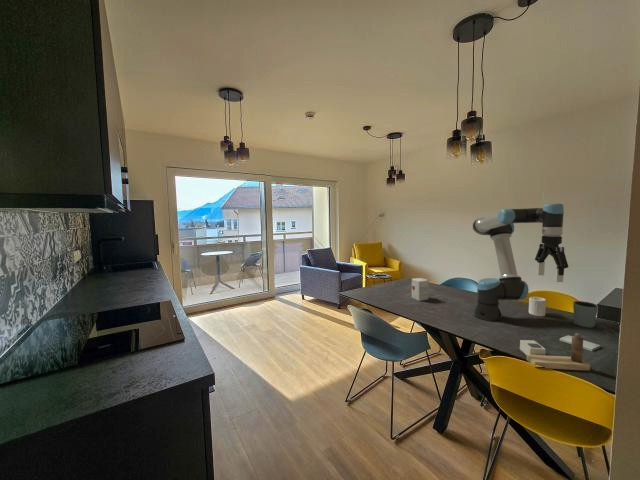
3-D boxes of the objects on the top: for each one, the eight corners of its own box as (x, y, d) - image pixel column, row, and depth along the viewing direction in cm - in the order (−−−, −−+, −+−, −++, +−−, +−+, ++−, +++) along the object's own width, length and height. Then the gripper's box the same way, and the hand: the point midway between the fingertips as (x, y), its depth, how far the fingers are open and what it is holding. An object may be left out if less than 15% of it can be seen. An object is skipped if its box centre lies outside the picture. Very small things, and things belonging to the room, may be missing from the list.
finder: (519, 349, 128) (520, 339, 128) (533, 349, 127) (534, 339, 127) (529, 357, 120) (530, 347, 120) (545, 358, 119) (545, 348, 119)
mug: (551, 313, 170) (552, 298, 169) (540, 317, 165) (541, 301, 164) (537, 309, 177) (537, 295, 176) (525, 312, 172) (526, 297, 171)
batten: (526, 359, 119) (526, 354, 119) (578, 362, 116) (578, 357, 116) (534, 367, 113) (535, 361, 113) (589, 370, 110) (590, 364, 110)
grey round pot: (578, 319, 159) (579, 300, 158) (601, 326, 150) (602, 305, 149) (567, 322, 156) (569, 302, 155) (590, 329, 146) (592, 308, 145)
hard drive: (601, 345, 128) (568, 334, 139) (592, 349, 125) (559, 338, 136) (600, 348, 128) (568, 337, 139) (591, 352, 125) (559, 341, 136)
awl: (568, 358, 115) (570, 332, 114) (577, 358, 115) (579, 332, 113) (574, 362, 112) (576, 335, 111) (584, 363, 111) (585, 336, 110)
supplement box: (411, 297, 210) (411, 278, 208) (420, 296, 212) (421, 277, 211) (418, 301, 201) (418, 281, 199) (428, 299, 204) (429, 280, 202)
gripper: (528, 233, 144) (526, 272, 146) (561, 238, 120) (558, 284, 122) (543, 233, 143) (541, 272, 145) (580, 237, 119) (577, 285, 121)
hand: (549, 278), depth 134 cm, fingers open, 13 cm apart
